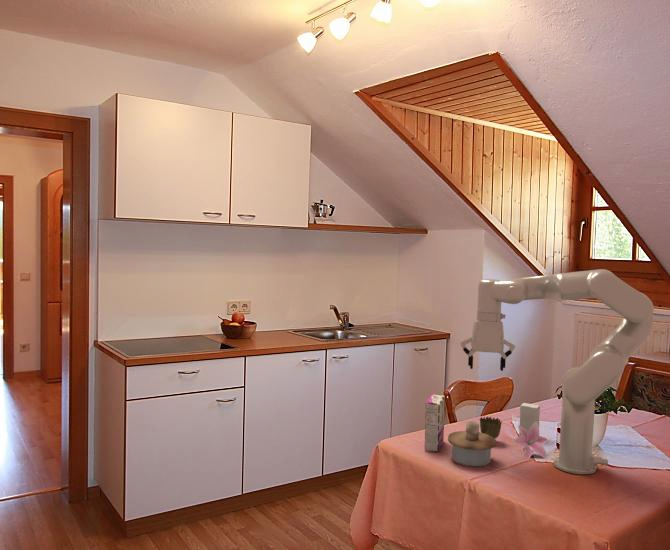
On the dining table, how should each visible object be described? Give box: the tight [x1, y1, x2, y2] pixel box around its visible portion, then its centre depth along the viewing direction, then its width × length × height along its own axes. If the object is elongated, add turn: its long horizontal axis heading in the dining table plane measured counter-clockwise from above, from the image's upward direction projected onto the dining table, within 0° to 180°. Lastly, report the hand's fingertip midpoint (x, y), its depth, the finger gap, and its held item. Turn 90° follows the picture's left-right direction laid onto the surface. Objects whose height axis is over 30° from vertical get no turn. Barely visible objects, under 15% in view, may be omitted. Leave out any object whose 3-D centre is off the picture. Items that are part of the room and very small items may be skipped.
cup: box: [479, 416, 503, 439], centre depth 217 cm, size 8×7×8 cm
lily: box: [512, 422, 549, 460], centre depth 207 cm, size 12×12×10 cm
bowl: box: [451, 444, 492, 468], centre depth 200 cm, size 12×12×6 cm
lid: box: [447, 421, 497, 450], centre depth 199 cm, size 15×15×6 cm
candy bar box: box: [424, 394, 446, 453], centre depth 211 cm, size 11×5×16 cm, turn 161°
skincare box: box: [518, 402, 541, 437], centre depth 222 cm, size 6×4×12 cm
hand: (486, 369), depth 204 cm, fingers open, 9 cm apart
